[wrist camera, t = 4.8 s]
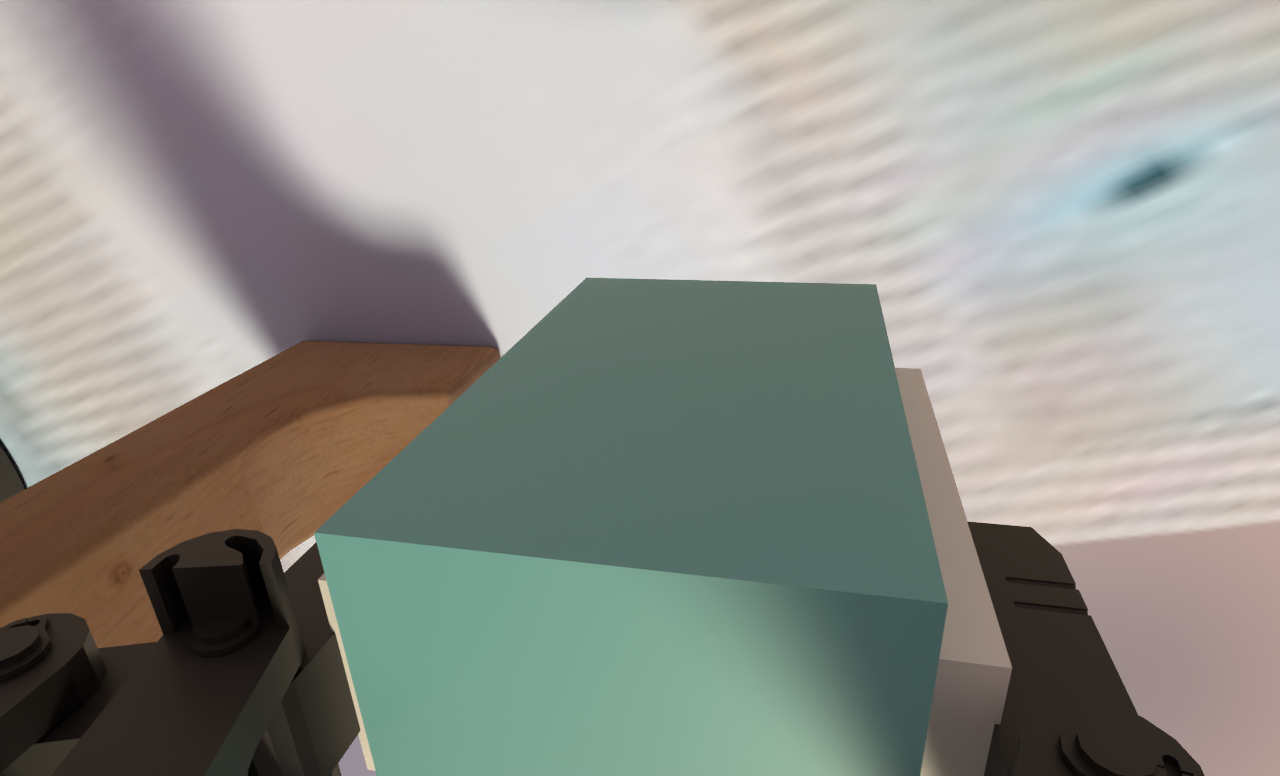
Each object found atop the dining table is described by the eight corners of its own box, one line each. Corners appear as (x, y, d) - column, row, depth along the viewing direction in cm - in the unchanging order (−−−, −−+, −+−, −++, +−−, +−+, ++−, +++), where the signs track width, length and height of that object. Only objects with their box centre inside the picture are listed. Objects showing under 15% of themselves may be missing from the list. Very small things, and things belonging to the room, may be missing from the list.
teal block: (602, 512, 15) (410, 908, 8) (586, 277, 13) (315, 533, 6) (852, 535, 14) (881, 1017, 7) (875, 284, 12) (947, 603, 5)
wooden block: (502, 343, 28) (77, 708, 13) (516, 446, 30) (160, 881, 14) (301, 337, 31) (-279, 642, 15) (326, 433, 32) (-168, 799, 16)
